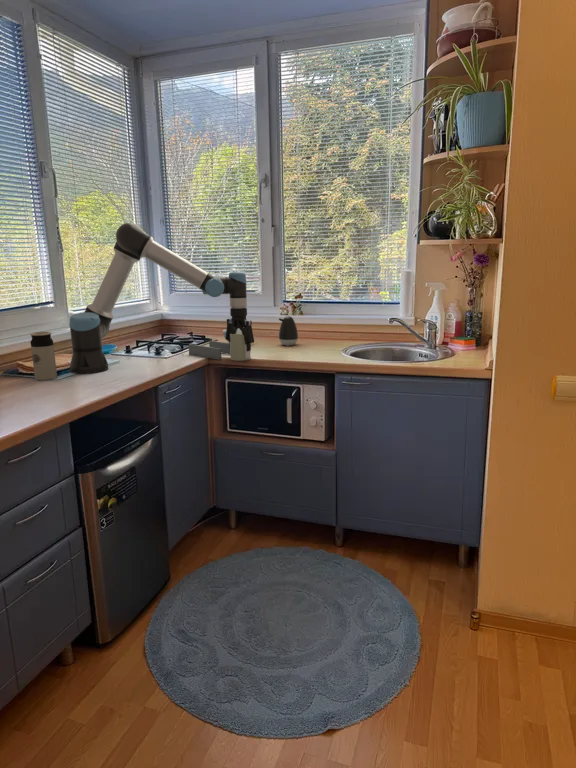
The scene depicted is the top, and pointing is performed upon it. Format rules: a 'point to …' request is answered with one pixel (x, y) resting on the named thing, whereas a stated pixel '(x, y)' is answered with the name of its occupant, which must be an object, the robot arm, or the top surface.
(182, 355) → the top surface
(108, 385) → the top surface
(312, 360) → the top surface
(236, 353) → the can
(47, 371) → the travel mug
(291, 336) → the pump dispenser
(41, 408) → the top surface
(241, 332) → the chinaware
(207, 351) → the channel
